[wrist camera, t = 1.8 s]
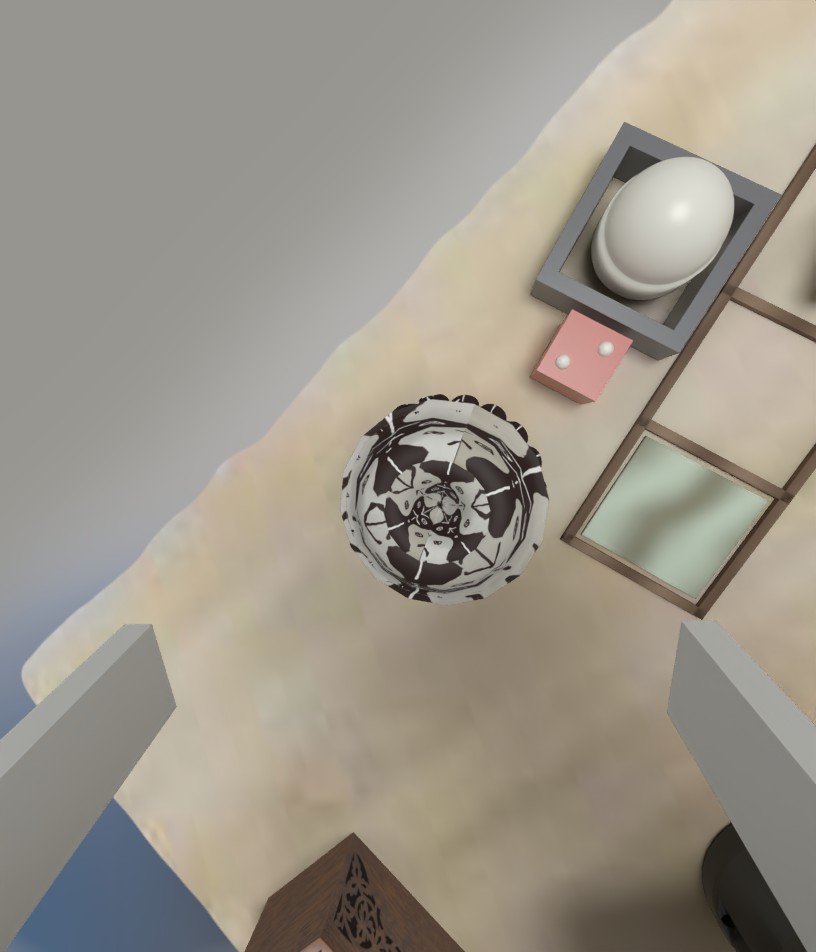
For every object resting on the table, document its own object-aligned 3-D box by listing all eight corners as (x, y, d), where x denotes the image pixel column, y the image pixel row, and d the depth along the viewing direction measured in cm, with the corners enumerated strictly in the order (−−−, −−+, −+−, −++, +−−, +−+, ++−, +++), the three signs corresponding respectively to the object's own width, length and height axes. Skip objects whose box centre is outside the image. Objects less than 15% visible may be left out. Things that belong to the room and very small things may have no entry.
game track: (999, 216, 31) (1007, 213, 31) (698, 617, 38) (701, 619, 38) (820, 136, 33) (825, 132, 32) (560, 538, 39) (561, 539, 39)
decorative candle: (431, 394, 40) (349, 346, 15) (530, 425, 39) (612, 429, 14) (401, 487, 41) (283, 580, 17) (495, 520, 40) (515, 672, 16)
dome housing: (747, 221, 34) (797, 182, 29) (617, 423, 37) (640, 423, 32) (608, 155, 35) (631, 106, 30) (494, 358, 38) (496, 347, 33)
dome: (724, 220, 32) (797, 159, 25) (661, 320, 34) (712, 291, 26) (626, 173, 33) (668, 100, 25) (569, 273, 34) (592, 232, 27)
